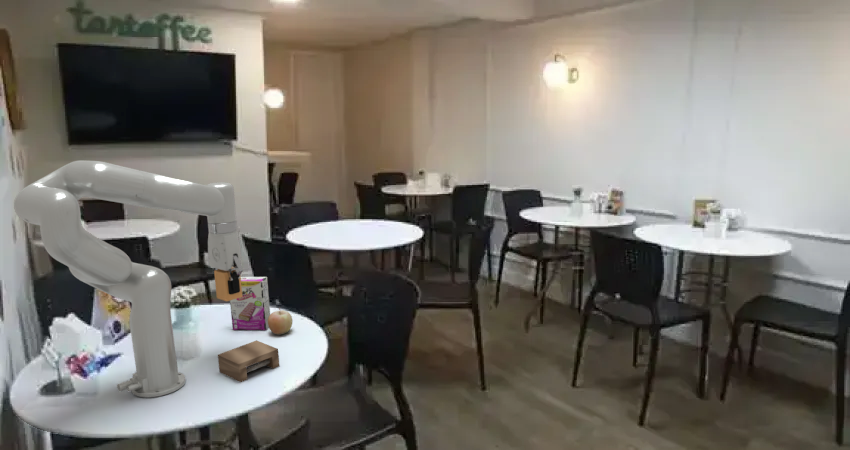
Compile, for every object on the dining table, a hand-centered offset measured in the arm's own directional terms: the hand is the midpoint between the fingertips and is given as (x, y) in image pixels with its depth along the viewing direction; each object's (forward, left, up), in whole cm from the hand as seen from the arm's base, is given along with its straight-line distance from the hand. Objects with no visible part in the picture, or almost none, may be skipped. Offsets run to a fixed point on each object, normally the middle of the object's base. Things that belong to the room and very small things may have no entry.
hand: (228, 290), depth 171 cm
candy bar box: (+14, +13, -19) cm, 27 cm away
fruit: (+17, +2, -19) cm, 26 cm away
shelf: (-4, -13, -19) cm, 23 cm away
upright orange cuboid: (0, 0, -2) cm, 2 cm away
